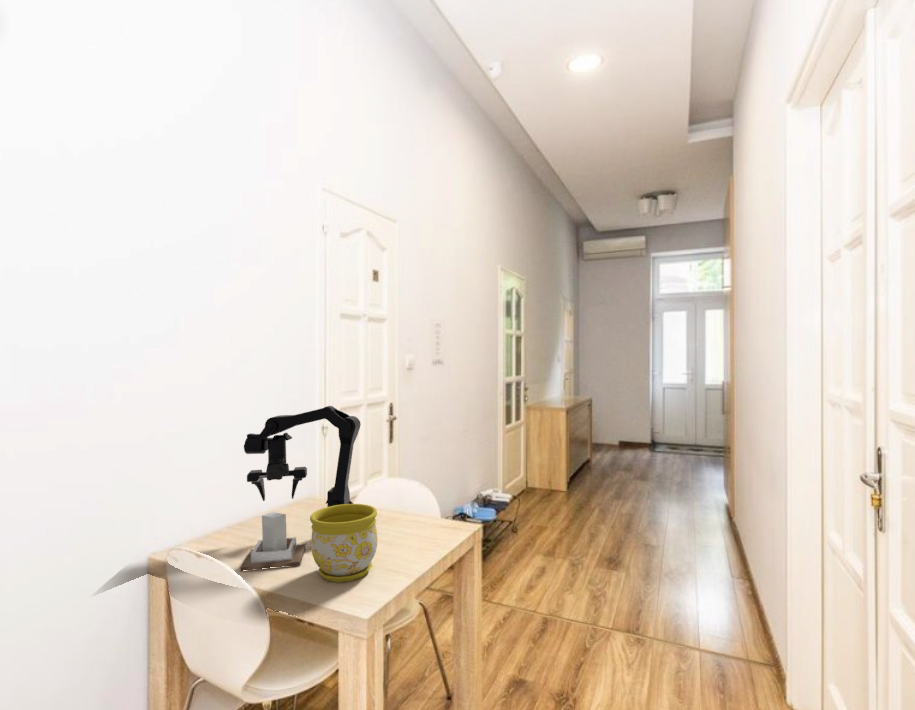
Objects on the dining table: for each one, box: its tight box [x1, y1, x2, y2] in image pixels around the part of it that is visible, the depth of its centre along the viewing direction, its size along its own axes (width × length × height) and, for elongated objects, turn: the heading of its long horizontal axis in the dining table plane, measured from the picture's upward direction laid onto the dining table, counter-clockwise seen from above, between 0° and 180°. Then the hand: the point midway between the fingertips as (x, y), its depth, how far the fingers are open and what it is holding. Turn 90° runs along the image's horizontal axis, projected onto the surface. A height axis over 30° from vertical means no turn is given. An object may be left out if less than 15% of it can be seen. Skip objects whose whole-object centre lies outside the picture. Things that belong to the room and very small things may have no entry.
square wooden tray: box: [240, 543, 306, 572], centre depth 151 cm, size 16×14×1 cm
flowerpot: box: [309, 503, 378, 583], centre depth 140 cm, size 18×18×16 cm
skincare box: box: [261, 511, 288, 551], centre depth 151 cm, size 6×4×12 cm
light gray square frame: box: [251, 536, 297, 564], centre depth 151 cm, size 11×11×3 cm
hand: (278, 499), depth 172 cm, fingers open, 9 cm apart
